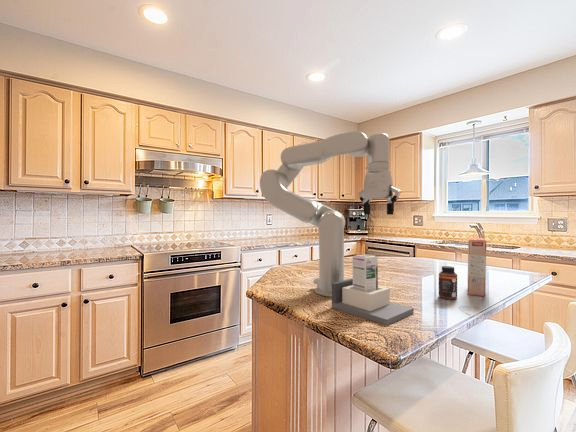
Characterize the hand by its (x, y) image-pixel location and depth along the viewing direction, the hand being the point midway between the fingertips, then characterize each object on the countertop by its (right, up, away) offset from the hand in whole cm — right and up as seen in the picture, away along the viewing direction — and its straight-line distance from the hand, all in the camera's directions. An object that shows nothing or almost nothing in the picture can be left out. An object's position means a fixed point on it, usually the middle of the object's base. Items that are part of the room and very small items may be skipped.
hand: (378, 214), depth 110 cm
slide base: (-7, -31, -16) cm, 35 cm away
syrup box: (-9, -28, -14) cm, 33 cm away
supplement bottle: (+25, -31, -2) cm, 39 cm away
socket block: (-8, -29, -14) cm, 33 cm away
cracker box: (+40, -31, +6) cm, 51 cm away
